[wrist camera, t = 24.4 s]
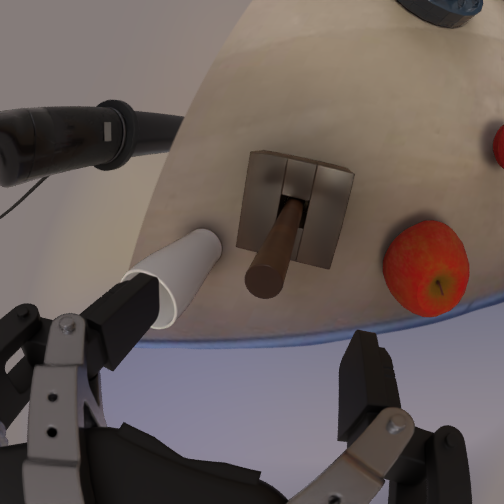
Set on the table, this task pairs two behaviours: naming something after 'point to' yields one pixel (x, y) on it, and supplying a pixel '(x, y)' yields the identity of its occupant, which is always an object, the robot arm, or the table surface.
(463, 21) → the bowl
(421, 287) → the apple
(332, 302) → the table surface
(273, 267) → the stirring stick
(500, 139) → the strawberry
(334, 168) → the holder
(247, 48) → the table surface
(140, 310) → the robot arm
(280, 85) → the table surface
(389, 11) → the table surface
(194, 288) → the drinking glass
